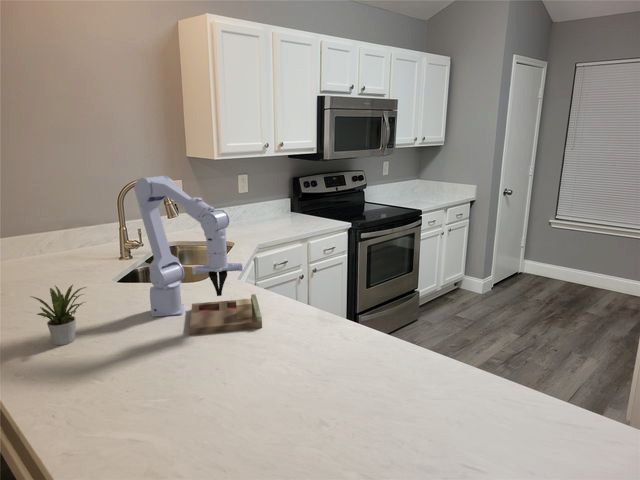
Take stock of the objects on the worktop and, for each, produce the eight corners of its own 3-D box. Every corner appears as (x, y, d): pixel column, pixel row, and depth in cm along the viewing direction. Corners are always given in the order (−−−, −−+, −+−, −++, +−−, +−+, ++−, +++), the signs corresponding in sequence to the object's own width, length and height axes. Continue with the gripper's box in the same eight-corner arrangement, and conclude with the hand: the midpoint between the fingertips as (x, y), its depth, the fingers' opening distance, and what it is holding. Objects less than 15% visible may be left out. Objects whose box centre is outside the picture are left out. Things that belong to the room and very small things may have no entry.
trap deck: (189, 335, 132) (188, 323, 131) (192, 309, 151) (191, 299, 150) (262, 327, 137) (261, 317, 136) (255, 303, 156) (255, 294, 155)
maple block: (237, 318, 138) (236, 305, 137) (236, 313, 142) (235, 299, 141) (252, 317, 139) (251, 303, 138) (251, 312, 143) (250, 298, 142)
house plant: (108, 334, 133) (101, 281, 129) (68, 356, 120) (60, 297, 116) (70, 327, 137) (63, 276, 133) (28, 347, 124) (19, 291, 121)
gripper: (190, 256, 129) (194, 301, 132) (242, 253, 132) (244, 297, 136) (191, 250, 136) (194, 293, 139) (240, 247, 139) (242, 289, 142)
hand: (219, 294), depth 138 cm, fingers closed
